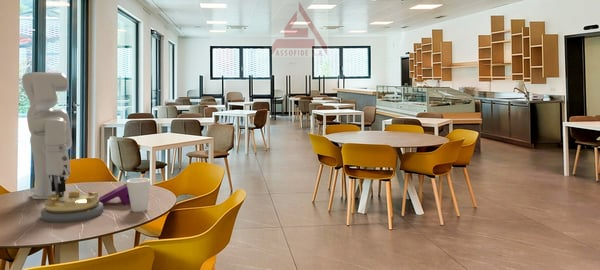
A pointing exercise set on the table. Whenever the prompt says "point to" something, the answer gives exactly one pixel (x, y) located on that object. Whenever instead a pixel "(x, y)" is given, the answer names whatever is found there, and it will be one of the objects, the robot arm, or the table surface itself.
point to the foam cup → (138, 193)
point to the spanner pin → (57, 187)
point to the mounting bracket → (117, 195)
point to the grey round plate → (71, 215)
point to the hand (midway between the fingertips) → (58, 191)
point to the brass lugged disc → (71, 202)
